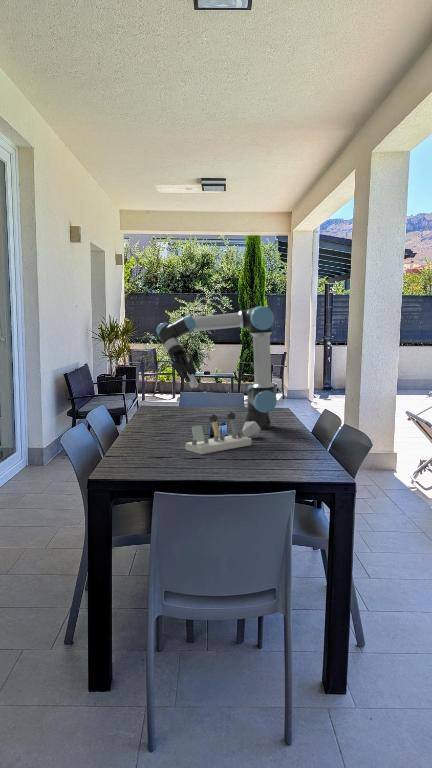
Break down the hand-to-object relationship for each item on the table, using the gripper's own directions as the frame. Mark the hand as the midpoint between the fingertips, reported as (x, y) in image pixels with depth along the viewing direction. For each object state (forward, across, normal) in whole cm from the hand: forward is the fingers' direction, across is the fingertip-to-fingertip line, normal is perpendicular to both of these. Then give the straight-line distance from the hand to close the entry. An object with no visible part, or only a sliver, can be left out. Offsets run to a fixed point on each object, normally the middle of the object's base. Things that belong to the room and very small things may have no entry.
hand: (195, 386), depth 261 cm
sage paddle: (+29, +11, -4) cm, 31 cm away
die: (+27, -27, -11) cm, 39 cm away
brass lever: (+29, 0, -4) cm, 29 cm away
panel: (+31, 0, -6) cm, 32 cm away
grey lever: (+29, -11, -4) cm, 31 cm away
